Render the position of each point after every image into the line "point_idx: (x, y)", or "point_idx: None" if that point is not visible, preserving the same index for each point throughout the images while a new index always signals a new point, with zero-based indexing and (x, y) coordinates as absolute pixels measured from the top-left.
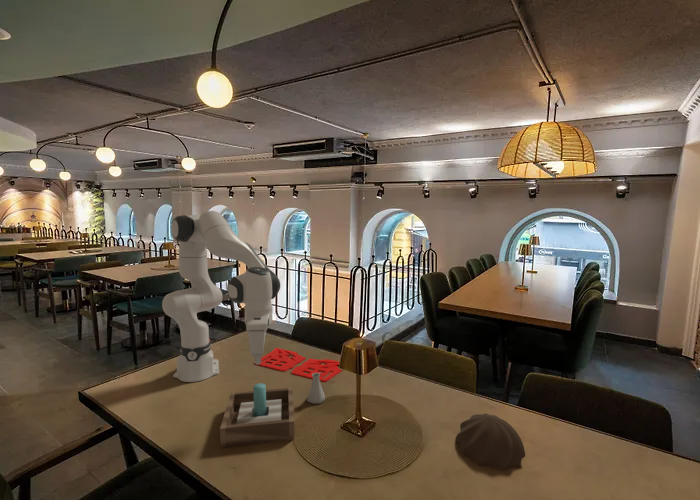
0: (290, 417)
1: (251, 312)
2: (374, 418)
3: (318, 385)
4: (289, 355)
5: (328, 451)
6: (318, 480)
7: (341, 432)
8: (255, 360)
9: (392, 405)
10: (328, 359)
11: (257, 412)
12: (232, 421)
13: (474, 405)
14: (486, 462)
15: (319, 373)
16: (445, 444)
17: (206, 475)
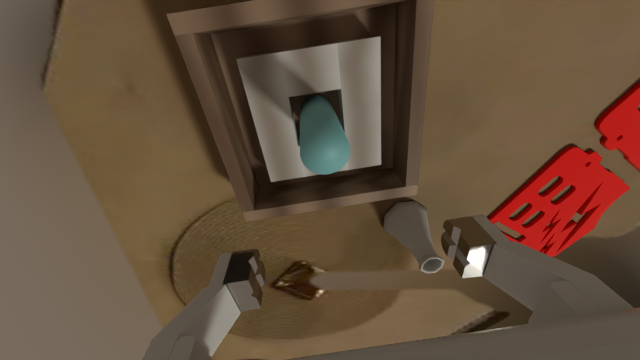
0: (261, 212)
1: None
2: (322, 299)
3: (410, 250)
4: None
5: (225, 249)
6: (150, 242)
7: (281, 262)
8: (214, 277)
9: (357, 317)
10: (591, 228)
11: (300, 117)
12: (311, 21)
13: None
14: None
15: (436, 271)
16: (261, 353)
17: (74, 15)
